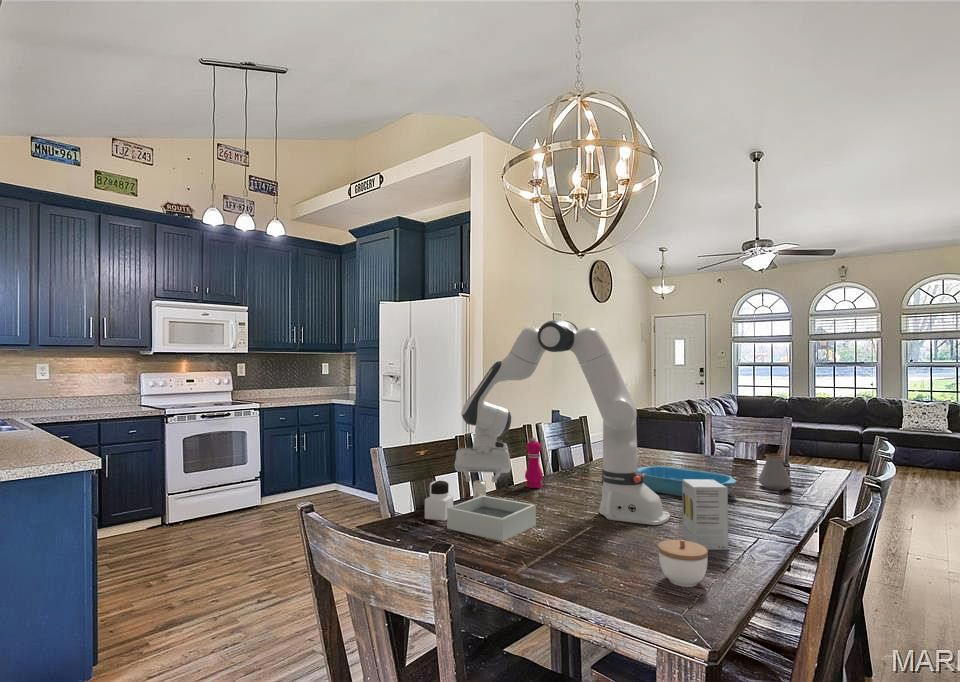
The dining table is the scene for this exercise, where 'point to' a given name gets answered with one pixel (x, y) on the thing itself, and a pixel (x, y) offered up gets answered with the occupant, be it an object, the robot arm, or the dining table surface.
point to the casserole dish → (677, 478)
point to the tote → (491, 518)
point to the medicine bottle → (438, 501)
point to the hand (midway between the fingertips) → (480, 481)
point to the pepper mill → (533, 465)
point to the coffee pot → (774, 472)
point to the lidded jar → (683, 562)
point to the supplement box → (705, 513)
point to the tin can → (479, 488)
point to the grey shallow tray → (492, 512)
